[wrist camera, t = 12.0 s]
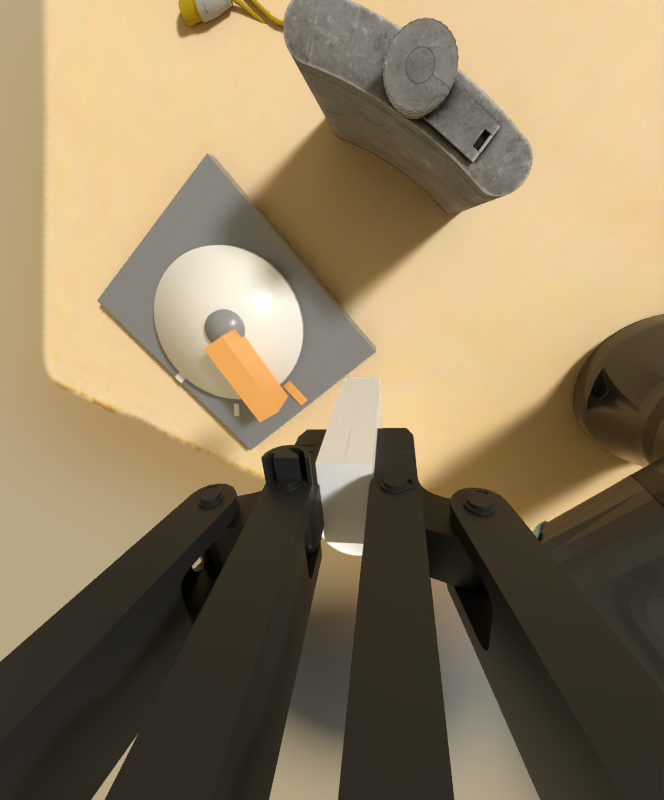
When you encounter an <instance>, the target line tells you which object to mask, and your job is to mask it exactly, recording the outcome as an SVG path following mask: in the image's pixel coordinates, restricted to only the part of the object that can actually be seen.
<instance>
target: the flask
mask: <svg viewBox="0 0 664 800" xmlns="http://www.w3.org/2000/svg"><path fill="white" fill-rule="evenodd" d="M283 33H284V39H285V42H286V45H287V48H288V50H289V52H290V53H291V55H292V57H293V59H294V61H295V62H296V64H297V66H298V68H299V70H300V72H301V73H302V75H303V77H304V79H305V81H306V82H307V84H308V86H309V88H310V90H311V91H312V93H313V95H314V97H315V99H316V100H317V102H318V104H319V106H320V108H321V109H322V111H323V113H324V115H325V117H326V119H327V120H328V122H329V124H330V126H331V128H332V129H333V131H334V133H335V134H336V136H337V137H339V138H340V139H342V140H345V141H348V142H350V143H353V144H355V145H357V146H360V147H362V148H364V149H366V150H368V151H370V152H371V153H373V154H375V155H377V156H379V157H380V158H382V159H383V160H385V161H387V162H388V163H390V164H391V165H393V166H394V167H396V168H397V169H398V170H400V171H401V172H403V173H404V174H405V175H407V176H408V177H409V178H411V179H412V180H413V181H414V182H416V183H417V184H418V185H419V186H420V187H421V188H422V189H424V190H425V191H426V192H427V193H428V194H429V195H430V196H431V197H432V198H433V199H434V200H435V201H436V202H437V203H438V205H439V206H440V207H441V208H442V209H443V210H444V211H445V212H447V213H450V214H455V213H459V212H462V211H464V210H467V209H470V208H472V207H475V206H478V205H480V204H483V203H486V202H489V201H491V200H494V199H497V198H499V197H502V196H505V195H507V194H510V193H512V192H513V191H515V190H516V189H517V188H519V187H520V186H521V185H522V184H523V182H524V181H525V180H526V178H527V176H528V174H529V172H530V170H531V166H532V158H533V156H532V149H531V146H530V144H529V142H528V141H527V139H526V138H525V137H524V136H523V134H522V133H521V132H520V131H519V129H518V128H517V127H516V126H515V124H514V123H513V122H512V121H511V120H510V119H509V118H508V117H507V115H506V114H505V113H504V112H503V111H502V110H501V109H500V108H499V107H498V106H497V105H496V104H495V103H494V102H493V101H492V100H491V99H490V98H489V97H488V96H487V95H486V94H485V93H484V92H483V91H482V90H481V89H480V88H479V87H478V86H477V85H476V84H475V83H474V82H473V81H471V80H470V79H469V78H468V77H467V76H466V75H465V74H463V73H462V72H461V71H460V70H459V69H457V68H458V58H459V56H458V47H457V45H456V40H455V38H454V37H453V35H452V32H451V31H450V30H448V27H447V26H446V25H444V24H443V23H442V22H441V21H436V20H435V19H434V18H431V19H429V18H423V19H417V20H415V21H411V22H409V23H408V25H405V26H403V28H401V27H399V26H397V25H396V24H394V23H392V22H390V21H389V20H387V19H385V18H384V17H382V16H380V15H378V14H376V13H374V12H373V11H371V10H369V9H367V8H365V7H363V6H361V5H359V4H357V3H354V2H352V1H350V0H291V2H290V3H289V5H288V7H287V10H286V13H285V17H284V24H283Z"/></svg>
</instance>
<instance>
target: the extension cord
mask: <svg viewBox="0 0 664 800" xmlns="http://www.w3.org/2000/svg"><path fill="white" fill-rule="evenodd" d="M232 1H233V2H235V3H236V4H237V5H239V6H240V7H241V8H243V9H244V10H245V11H246V12H247V13H249V14H250V15H251V16H252V17H253V18H254V19H256V20H257V21H259V22H261V23H264V24H267V22H266V21H264V20H263V19H262V18H261V17H260V16H258V15H257V14H256V13H255V12H254V11H253V10H251V9H250V8H249V7H248V6H247V5H245V4H244V3H243V2H242V1H241V0H179V2H178V3H179V8H180V12H181V14H182V17H183V19H184V21H185V23H186V24H187V25H188V26H190V27H193V26H196V23H198V22H201V21H202V22H203V23H205V24H206V23H207V22H208V21H210V20H213V19H214V18H216V17H218V16H219V15H221V14H222V13H223V12H225V11H226V10H227V9H228V8H230V7H232V6H233V2H232ZM250 1H251V2H252V3H253V4H254V5H255V6H256V7H257V8H258V9H259V10H260V11H261V12H262V13H263V14H264V15H265V16H266V17H267V18H268V19H269V20H270V21H272V22H273V23H275V24H277V25H279V26H283V24H284V21H281V20H278V19H277V18H275V17H274V16H272V15H271V14H270V13H269V12H268V11H267V10H266V9H265V8H264V7H263V6H262V5H261V4H260V3H258V2H257V1H256V0H250Z"/></svg>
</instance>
